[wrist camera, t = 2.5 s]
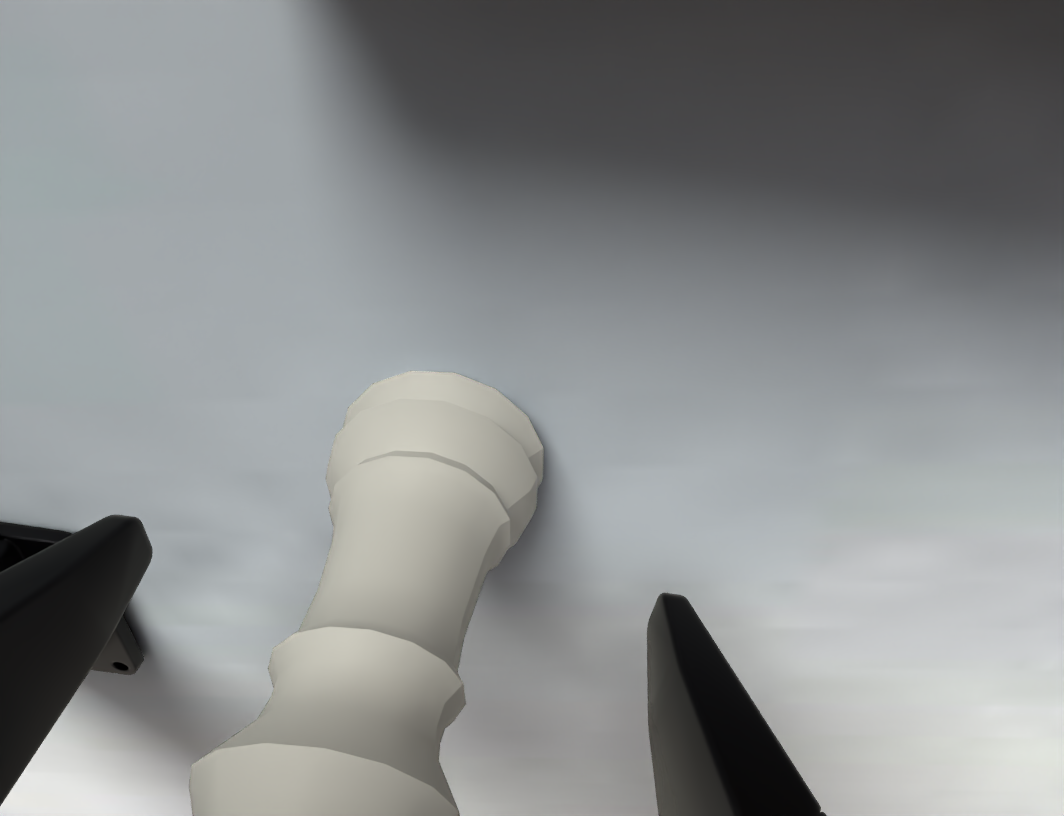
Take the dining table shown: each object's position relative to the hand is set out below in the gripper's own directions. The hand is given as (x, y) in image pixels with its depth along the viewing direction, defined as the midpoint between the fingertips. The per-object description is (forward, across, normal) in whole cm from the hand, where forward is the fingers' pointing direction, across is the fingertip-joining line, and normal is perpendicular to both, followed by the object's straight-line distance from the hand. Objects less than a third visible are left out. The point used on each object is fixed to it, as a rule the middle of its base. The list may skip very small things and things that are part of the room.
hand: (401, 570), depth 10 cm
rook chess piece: (+4, 0, 0) cm, 4 cm away
